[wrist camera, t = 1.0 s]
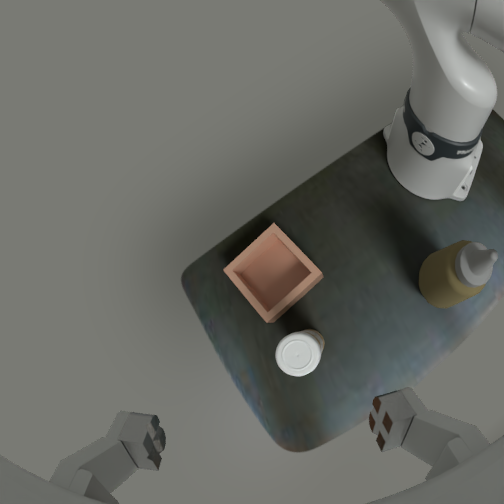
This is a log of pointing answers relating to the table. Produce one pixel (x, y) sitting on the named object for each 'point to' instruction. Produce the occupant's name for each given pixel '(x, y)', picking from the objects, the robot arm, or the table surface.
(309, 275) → the terracotta socket
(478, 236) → the table surface
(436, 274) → the squeeze bottle
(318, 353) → the sprinkles bottle
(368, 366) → the table surface
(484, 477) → the robot arm
